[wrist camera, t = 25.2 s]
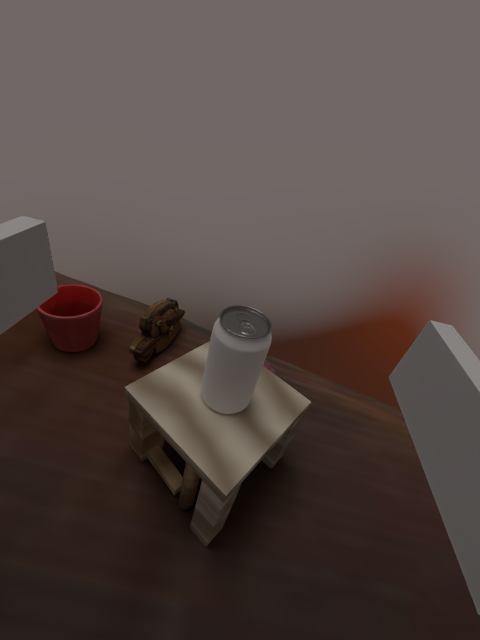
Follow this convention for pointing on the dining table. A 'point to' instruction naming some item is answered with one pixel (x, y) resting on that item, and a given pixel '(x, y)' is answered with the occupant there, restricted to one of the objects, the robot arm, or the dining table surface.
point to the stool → (217, 431)
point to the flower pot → (72, 317)
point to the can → (235, 358)
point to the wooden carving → (157, 329)
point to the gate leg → (160, 458)
